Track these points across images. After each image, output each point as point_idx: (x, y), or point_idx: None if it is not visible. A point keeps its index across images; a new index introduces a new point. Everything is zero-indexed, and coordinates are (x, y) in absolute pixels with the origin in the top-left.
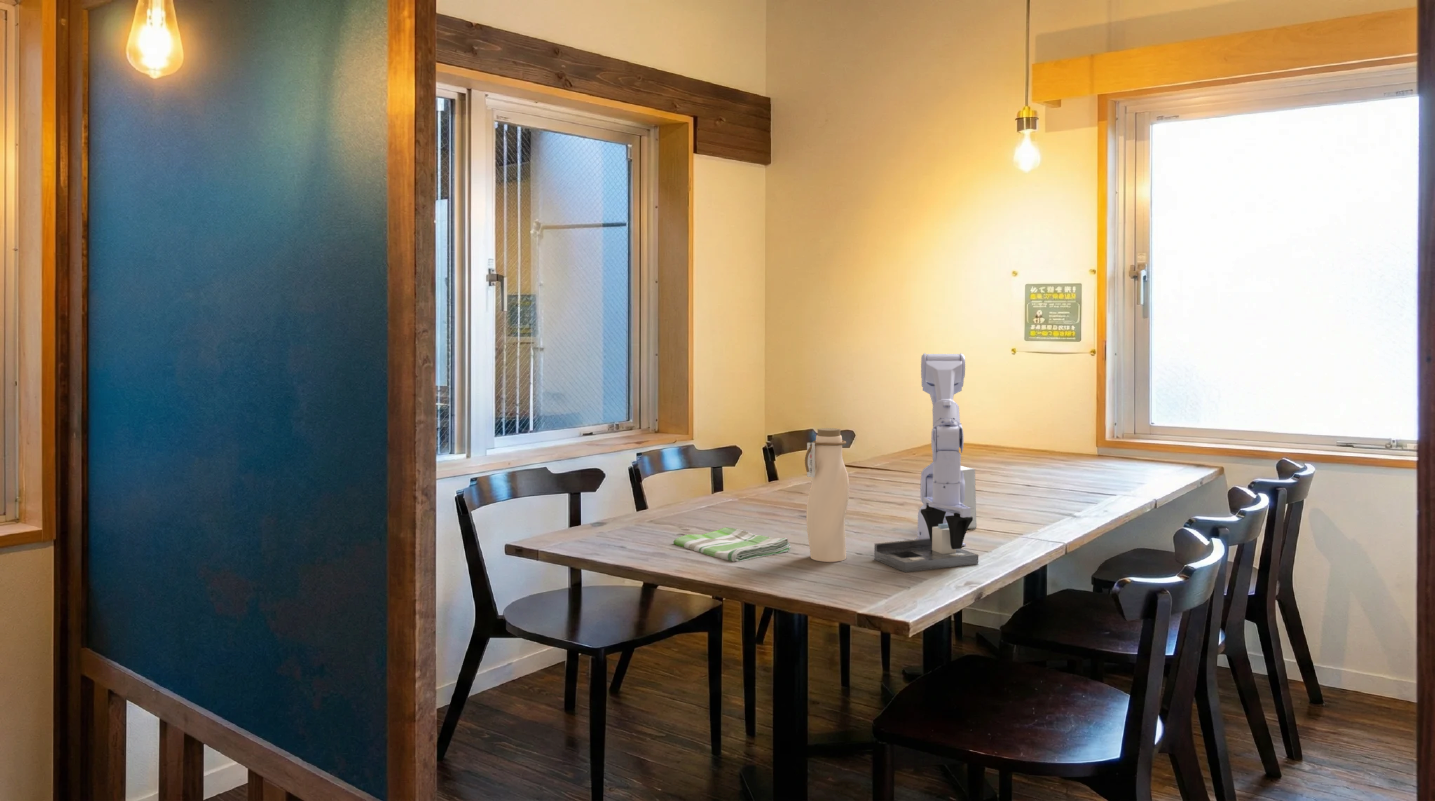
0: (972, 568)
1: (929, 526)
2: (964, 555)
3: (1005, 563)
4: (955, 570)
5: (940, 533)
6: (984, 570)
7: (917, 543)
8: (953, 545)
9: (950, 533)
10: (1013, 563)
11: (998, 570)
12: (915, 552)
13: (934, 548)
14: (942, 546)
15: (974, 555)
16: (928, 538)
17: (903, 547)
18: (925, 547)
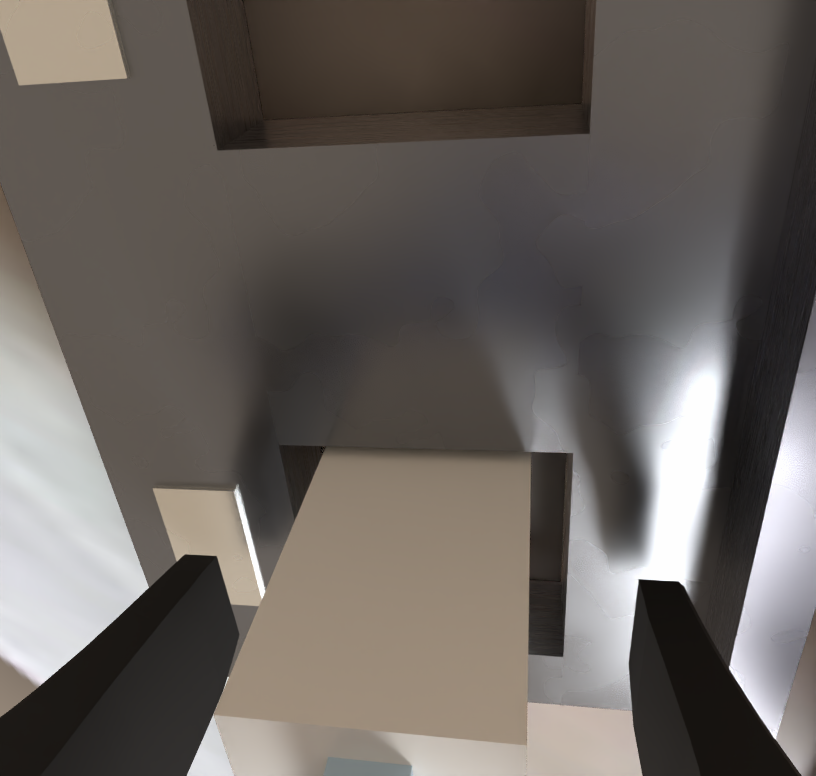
0: (82, 497)
1: (699, 765)
2: None
3: (204, 735)
4: (16, 336)
5: (283, 659)
6: (11, 532)
7: (768, 417)
8: (156, 587)
9: (74, 703)
10: (196, 763)
11: (10, 603)
12: (461, 175)
13: (473, 479)
14: (299, 520)
15: None
16: (794, 625)
17: (807, 140)
18: (678, 464)
